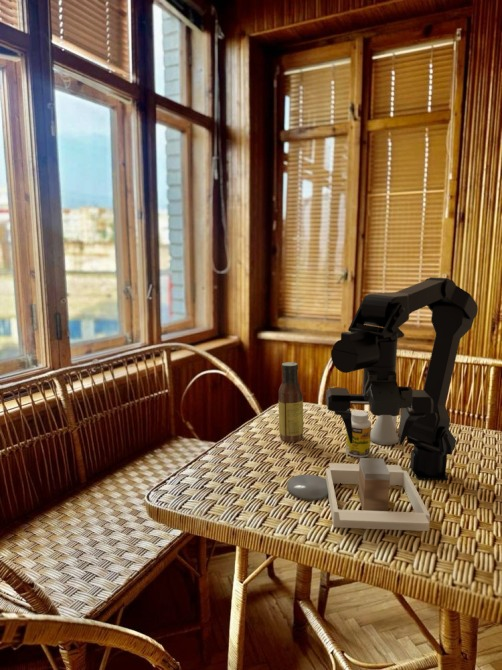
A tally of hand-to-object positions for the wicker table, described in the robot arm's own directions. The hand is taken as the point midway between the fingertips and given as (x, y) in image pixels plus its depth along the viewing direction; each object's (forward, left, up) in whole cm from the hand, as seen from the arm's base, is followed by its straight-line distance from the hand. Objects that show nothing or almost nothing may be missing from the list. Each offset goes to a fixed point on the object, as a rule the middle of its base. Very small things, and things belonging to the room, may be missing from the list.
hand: (375, 443), depth 90 cm
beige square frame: (0, 0, -12) cm, 12 cm away
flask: (-8, -31, -13) cm, 34 cm away
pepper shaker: (-11, -38, -13) cm, 41 cm away
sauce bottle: (+15, -30, -13) cm, 36 cm away
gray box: (0, 0, -12) cm, 13 cm away
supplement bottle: (-1, -22, -13) cm, 26 cm away
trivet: (+12, -5, -12) cm, 18 cm away
